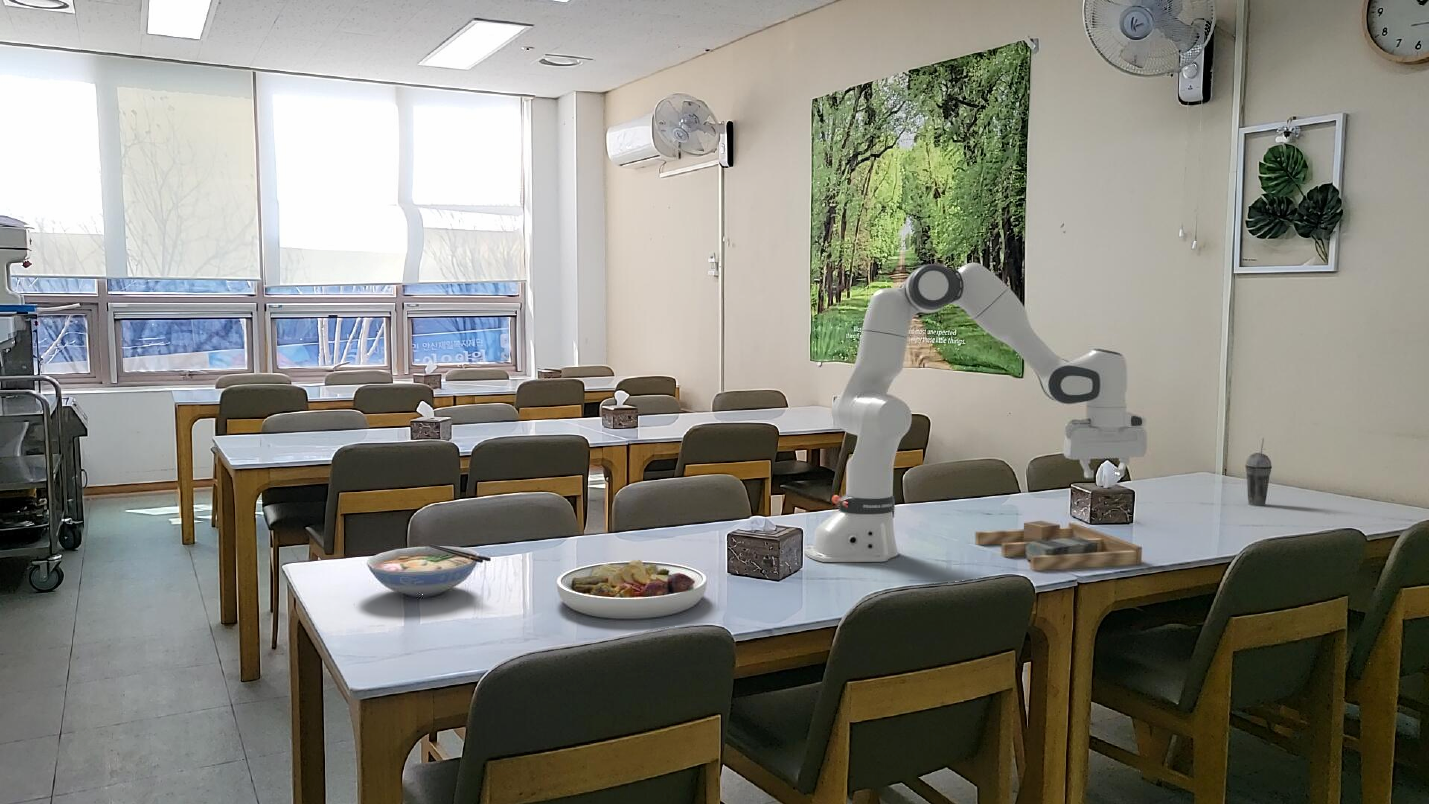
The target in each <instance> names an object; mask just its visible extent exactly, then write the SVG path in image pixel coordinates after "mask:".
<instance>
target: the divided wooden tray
mask: <svg viewBox="0 0 1429 804" xmlns="http://www.w3.org/2000/svg"><path fill="white" fill-rule="evenodd" d="M974 535H975V536H974V537H975V541H974V543H975V545H977V546H983V545H997V544H999V545H1001V550H1000V551H1001V553H1000V554H1001V555H1000V556H1001V557H1003V558H1010V557H1011V558H1012V557H1027V555H1026V545H1027V543H1028V542H1024V528H1023V529H1022V528H1021V529H1005V530H986V531H985V530H984V531H975V534H974ZM1069 537H1080V538H1083V539H1087V540H1091V541H1094V542H1097V543H1098V552H1094V553H1076V554H1059V555H1041V556H1031V557H1030V561H1029V563H1030V565H1029V569H1030V571H1037V572H1038V571H1049V570H1051V571H1052V570H1066V569H1067V570H1068V569H1084V568H1098V567H1099V568H1101V567H1102V568H1103V567H1116V566H1118V567H1119V566H1131V565H1133V566H1134V565H1142V559H1143V558H1142V557H1143V556H1142V555H1143V554H1142V553H1143V546H1139V545H1137V544H1135V543H1132V542H1129V541H1126V540H1123V539H1120V538H1117V537H1115V536H1111V535H1110V534H1107V533H1103V532H1100V531H1097V530H1095V529H1091V528H1089V527H1086V526H1084V525H1082V524H1081V525H1080V524H1078V523H1076V522H1069V523H1068V526H1063V527H1061V526H1060V539H1062V538H1069Z"/></svg>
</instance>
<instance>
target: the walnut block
mask: <svg viewBox="0 0 1429 804" xmlns="http://www.w3.org/2000/svg"><path fill="white" fill-rule="evenodd" d="M1060 527H1061V525H1060V524H1058V523H1053V522H1049V521H1045V520H1038V521H1036V520H1035V521H1030V522H1029V521H1028V522H1024V523H1023V529H1024V542H1036V541H1043V540H1044V539H1047V540H1054V539H1060Z"/></svg>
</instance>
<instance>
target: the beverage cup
mask: <svg viewBox="0 0 1429 804" xmlns="http://www.w3.org/2000/svg"><path fill="white" fill-rule="evenodd" d="M1264 442H1265V438H1261V444H1260V451H1259V452H1255V453H1252V454H1250V455H1249V456H1248V458H1247V459H1246V462H1245V465H1244V466H1245V473H1246V484H1247V485H1246V486H1247V500H1248V501H1247V502H1248V503H1247V505H1250V506H1255V507H1264V506H1266V501H1267V496H1268V489H1269V481H1270V476H1271V472H1272V468H1273V466H1272V461H1271V459H1270V458H1269V456H1268V455H1266V454H1265V453H1263V448H1264V447H1263V446H1264Z"/></svg>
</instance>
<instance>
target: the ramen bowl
mask: <svg viewBox="0 0 1429 804" xmlns="http://www.w3.org/2000/svg"><path fill="white" fill-rule="evenodd" d="M418 544H419V545H423V546H415V547H413V546H412V547H408V548H407V547H405V548H396V549H393V550H389V551H385V552H380V553H378V554H375V555H373V556H371V557H368V560H367V561H366V565H367V567H368V569H369V571H370V572H371V573H372V575H373V576H374V577H375V579H376V580H377V581H379V582H380V584H381V585H383V586H384V587H385V588H387V589H389V590H391V591H395V592H397V593H402V594H405V595H406V596H408V597H413V598H429V597H435V596H439V595H441V594H442V593H444V592H446V591H448V590H450V589H453V588H455V587H457V586H458V585H460V584H462V583H463V582H464V581H465V580H467V579H468V577H469V576H471V574H472V572H473V571H474V570H475V568H476V566H477V565H478V563H481V564H482V563H484V561H486V562H491V557H487V556H485V555H484V556H483V555H480V553H479V552H477V551H475V550H474V549H471V548H464V547H460V546H459V547H458V546H446V545H445V546H443V545H440V546H439V545H436V544H431V543H426V542H418ZM422 594H423V595H422Z"/></svg>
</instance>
